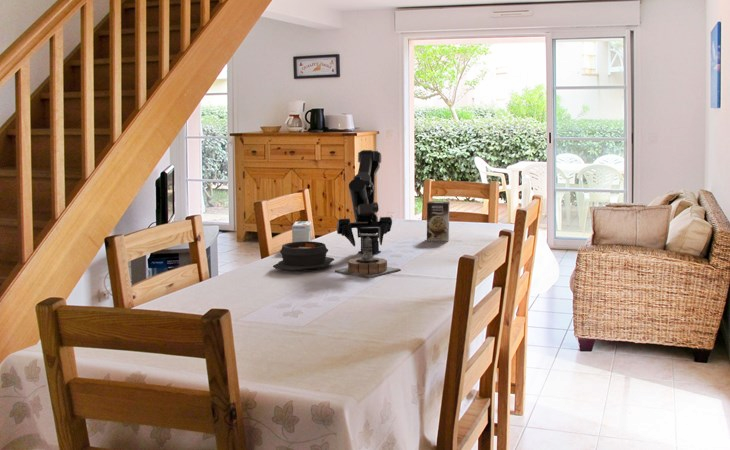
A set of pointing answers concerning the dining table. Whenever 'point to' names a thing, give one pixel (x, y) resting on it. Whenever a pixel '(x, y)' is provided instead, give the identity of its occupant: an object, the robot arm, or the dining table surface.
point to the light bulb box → (301, 231)
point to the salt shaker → (367, 251)
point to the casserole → (303, 256)
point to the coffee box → (438, 221)
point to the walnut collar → (367, 268)
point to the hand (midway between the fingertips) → (367, 245)
